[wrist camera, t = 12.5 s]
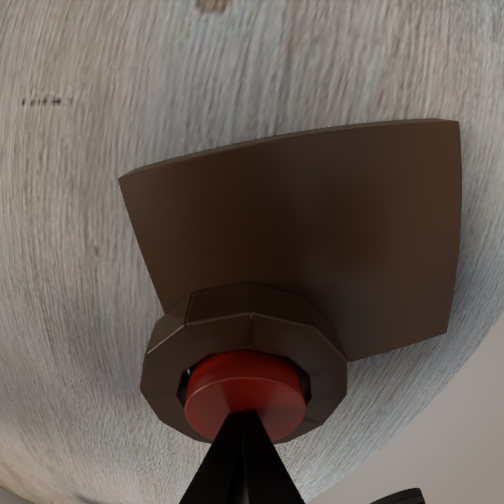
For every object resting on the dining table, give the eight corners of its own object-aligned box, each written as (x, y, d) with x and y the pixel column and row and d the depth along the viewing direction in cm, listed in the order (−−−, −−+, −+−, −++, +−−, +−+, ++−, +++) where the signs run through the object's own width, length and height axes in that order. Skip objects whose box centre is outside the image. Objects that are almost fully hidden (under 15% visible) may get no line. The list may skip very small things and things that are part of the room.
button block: (435, 117, 9) (493, 126, 6) (425, 351, 13) (452, 395, 10) (99, 180, 9) (51, 207, 6) (190, 399, 13) (183, 452, 11)
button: (291, 326, 9) (300, 367, 8) (302, 399, 11) (310, 436, 9) (175, 345, 9) (165, 386, 8) (208, 412, 11) (205, 450, 9)
